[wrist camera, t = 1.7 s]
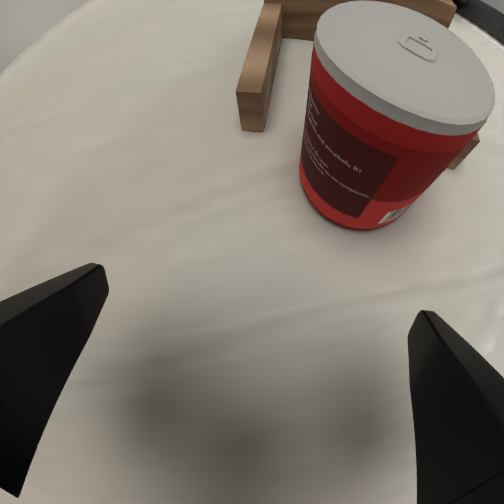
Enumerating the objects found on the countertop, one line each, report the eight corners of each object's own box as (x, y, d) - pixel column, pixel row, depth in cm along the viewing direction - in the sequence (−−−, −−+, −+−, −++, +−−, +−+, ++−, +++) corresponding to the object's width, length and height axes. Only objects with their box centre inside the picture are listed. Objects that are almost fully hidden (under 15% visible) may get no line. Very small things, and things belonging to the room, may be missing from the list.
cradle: (454, 169, 19) (509, 106, 11) (241, 130, 20) (227, 40, 13) (427, 58, 22) (451, 0, 14) (268, 28, 24) (264, -40, 16)
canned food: (414, 151, 19) (483, 42, 9) (397, 252, 17) (508, 164, 7) (316, 115, 20) (335, -16, 10) (281, 209, 19) (287, 72, 8)
